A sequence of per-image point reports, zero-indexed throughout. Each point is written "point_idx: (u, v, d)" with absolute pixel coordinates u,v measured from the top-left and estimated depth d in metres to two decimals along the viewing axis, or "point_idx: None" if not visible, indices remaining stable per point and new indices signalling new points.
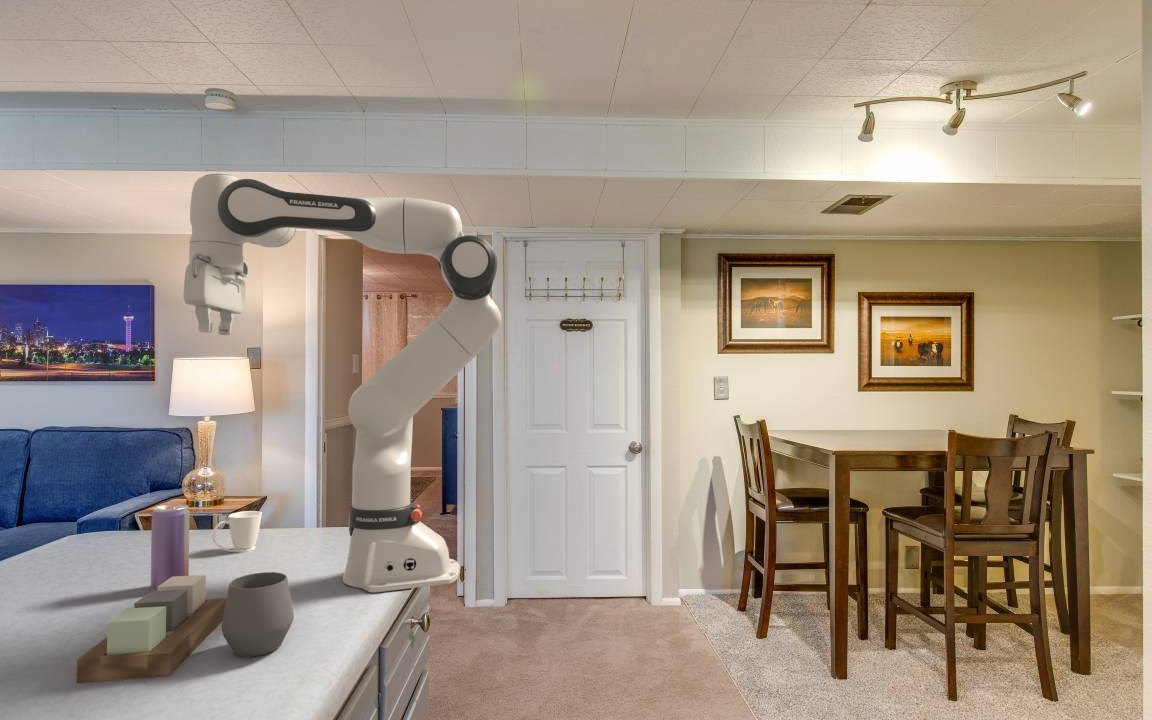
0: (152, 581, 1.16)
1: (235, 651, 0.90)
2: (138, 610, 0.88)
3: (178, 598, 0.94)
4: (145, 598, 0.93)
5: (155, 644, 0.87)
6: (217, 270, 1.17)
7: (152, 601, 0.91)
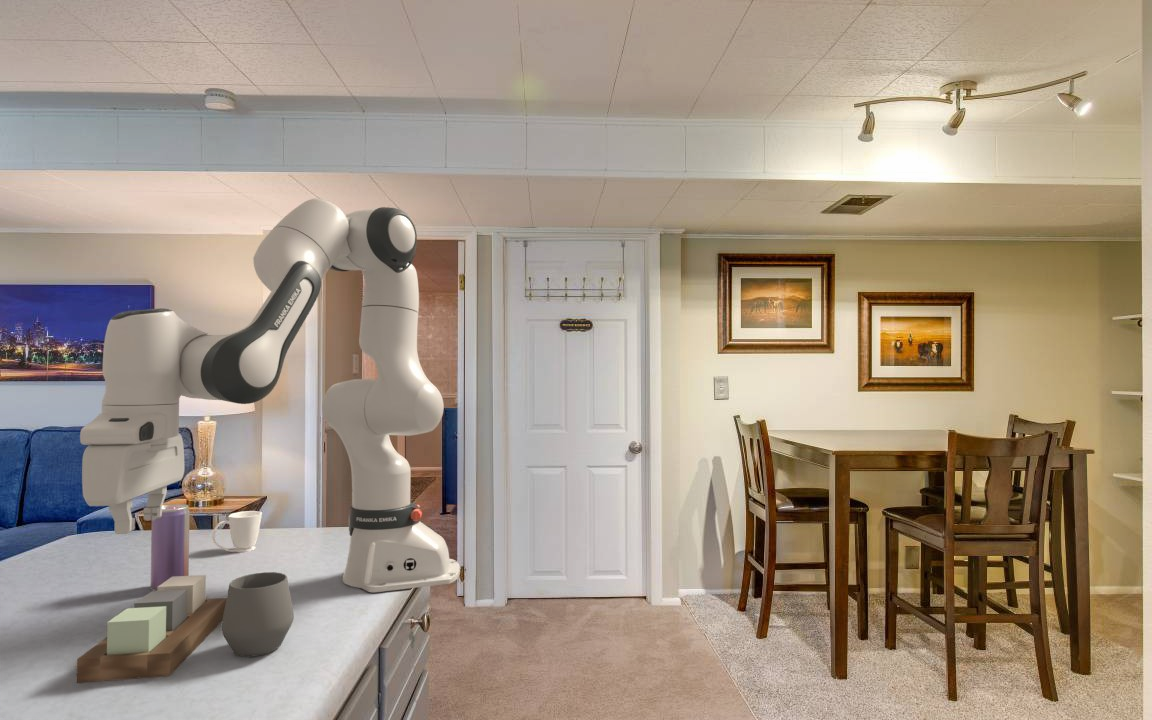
0: (152, 581, 1.16)
1: (235, 651, 0.90)
2: (138, 610, 0.88)
3: (178, 598, 0.94)
4: (145, 598, 0.93)
5: (155, 644, 0.87)
6: None
7: (152, 601, 0.91)
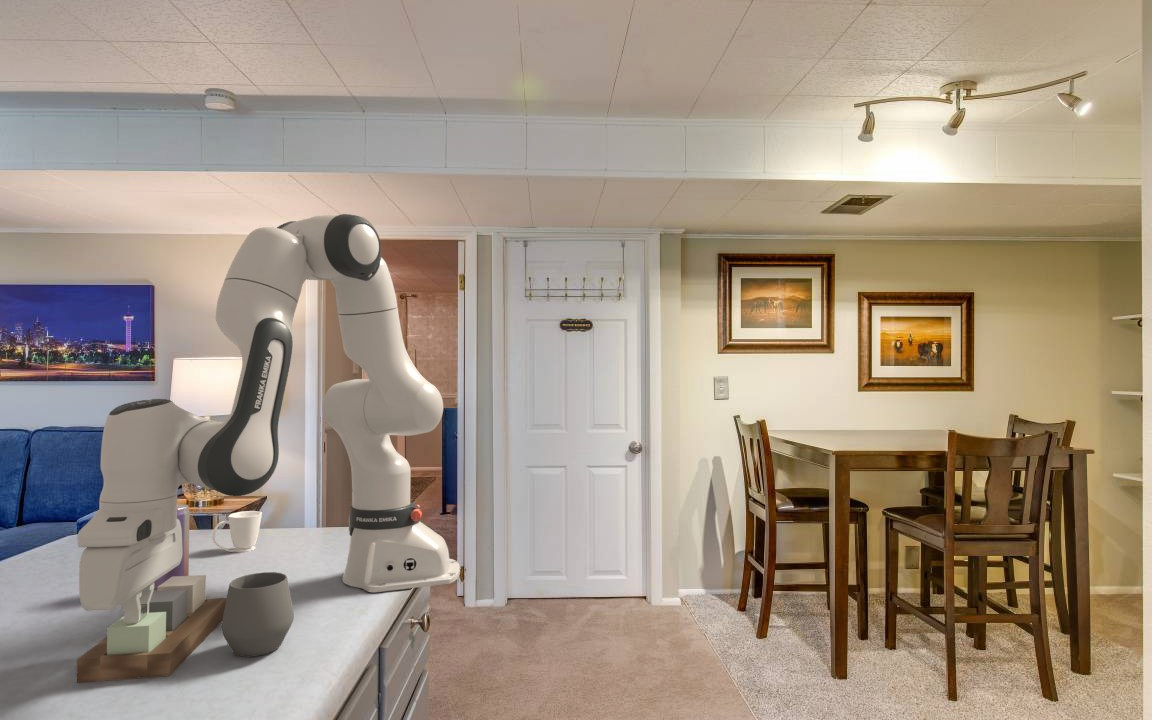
0: None
1: (235, 651, 0.90)
2: None
3: (178, 598, 0.94)
4: None
5: None
6: None
7: (152, 601, 0.91)
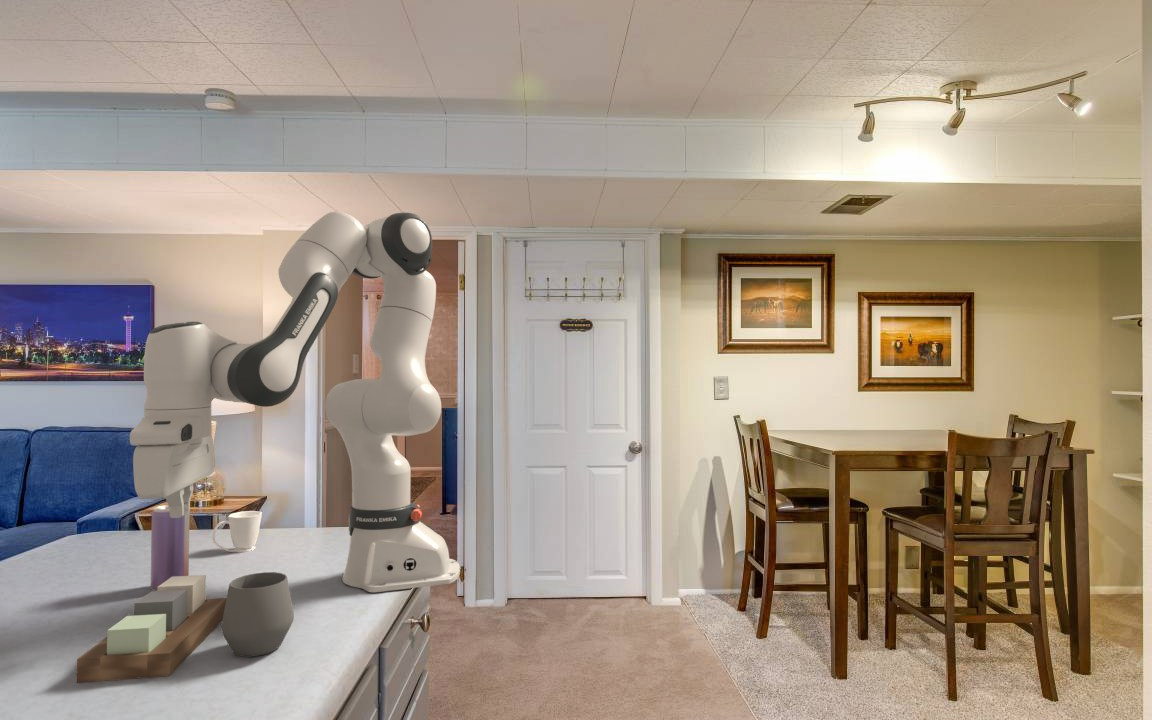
0: (152, 581, 1.16)
1: (235, 651, 0.90)
2: (138, 617, 0.88)
3: (178, 598, 0.94)
4: (145, 598, 0.93)
5: None
6: None
7: (152, 601, 0.91)
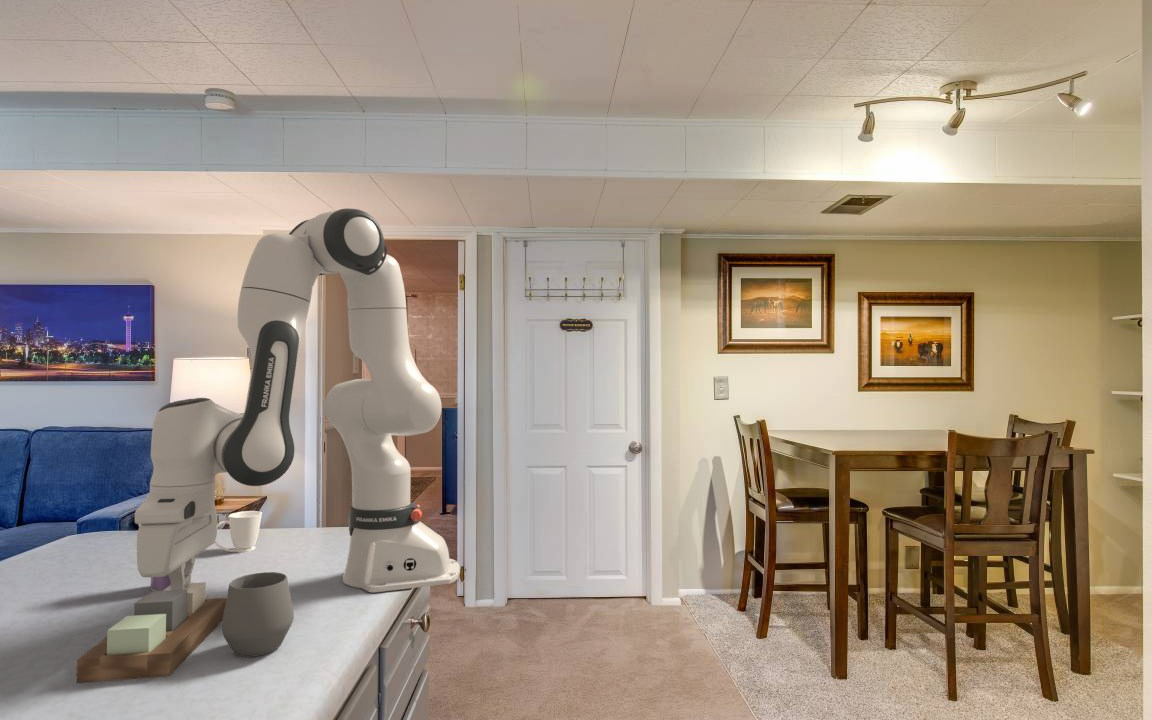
0: (152, 581, 1.16)
1: (235, 651, 0.90)
2: (138, 617, 0.88)
3: (178, 598, 0.94)
4: (145, 598, 0.93)
5: None
6: None
7: (152, 601, 0.91)
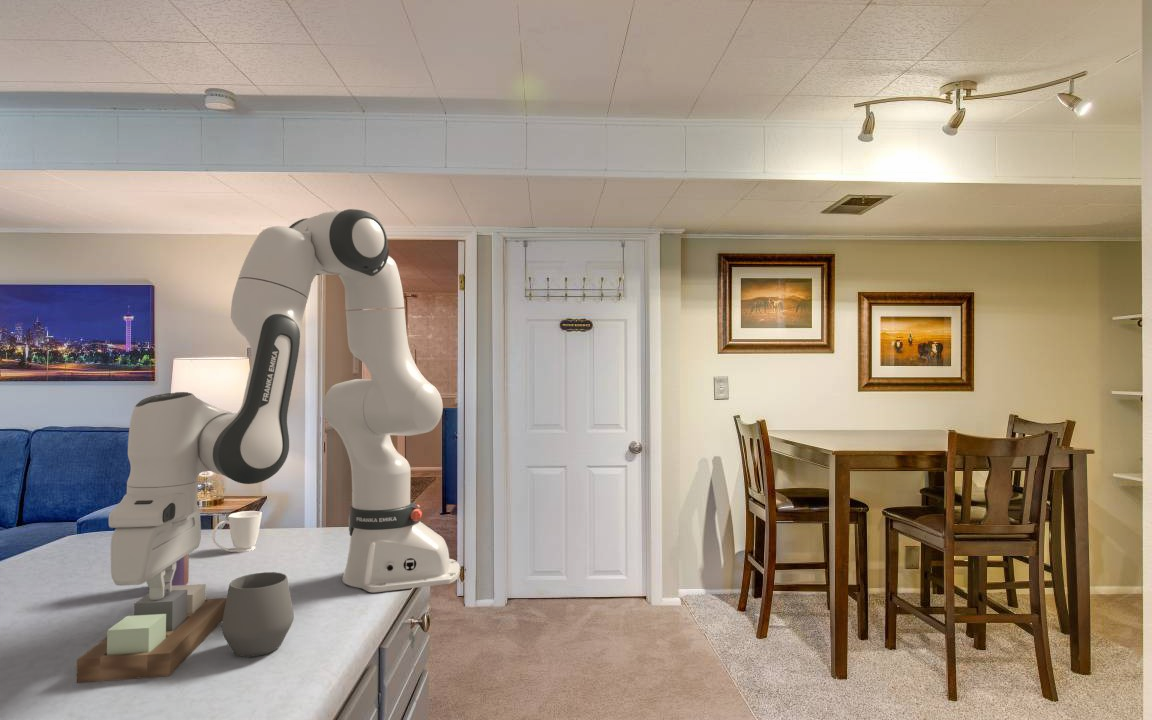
0: None
1: (235, 651, 0.90)
2: (138, 617, 0.88)
3: (178, 598, 0.94)
4: (145, 598, 0.93)
5: None
6: None
7: (152, 602, 0.91)
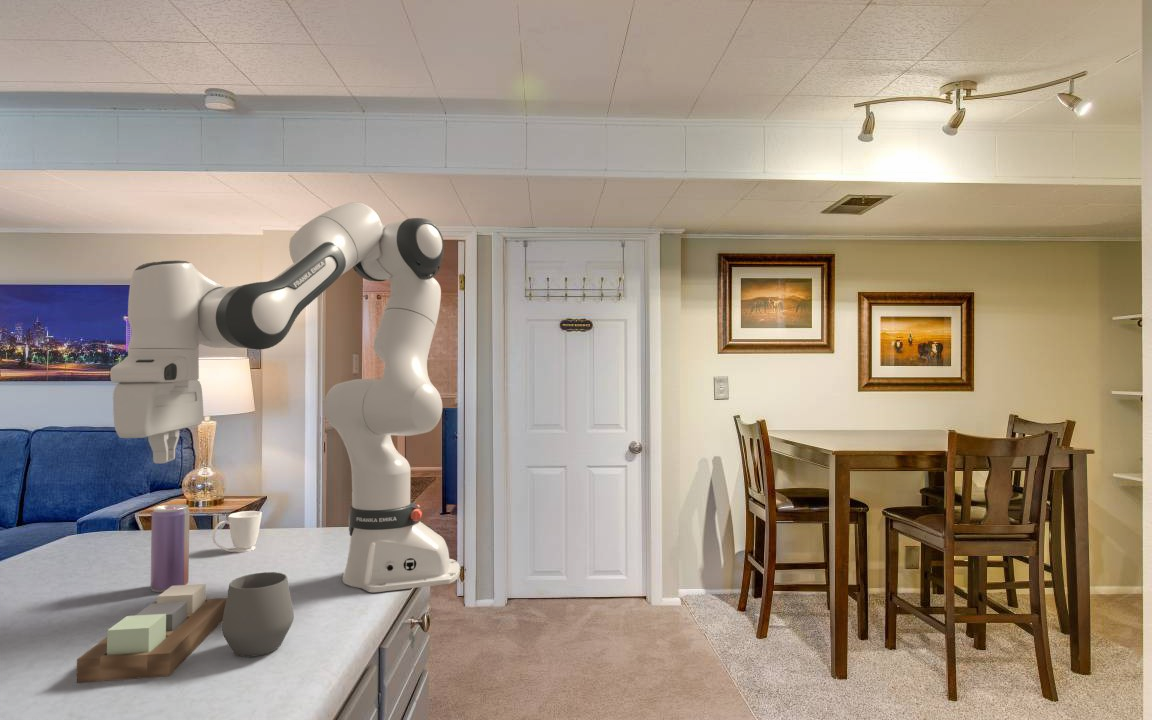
0: (152, 581, 1.16)
1: (235, 651, 0.90)
2: (138, 617, 0.88)
3: (178, 611, 0.94)
4: (145, 610, 0.93)
5: None
6: None
7: None
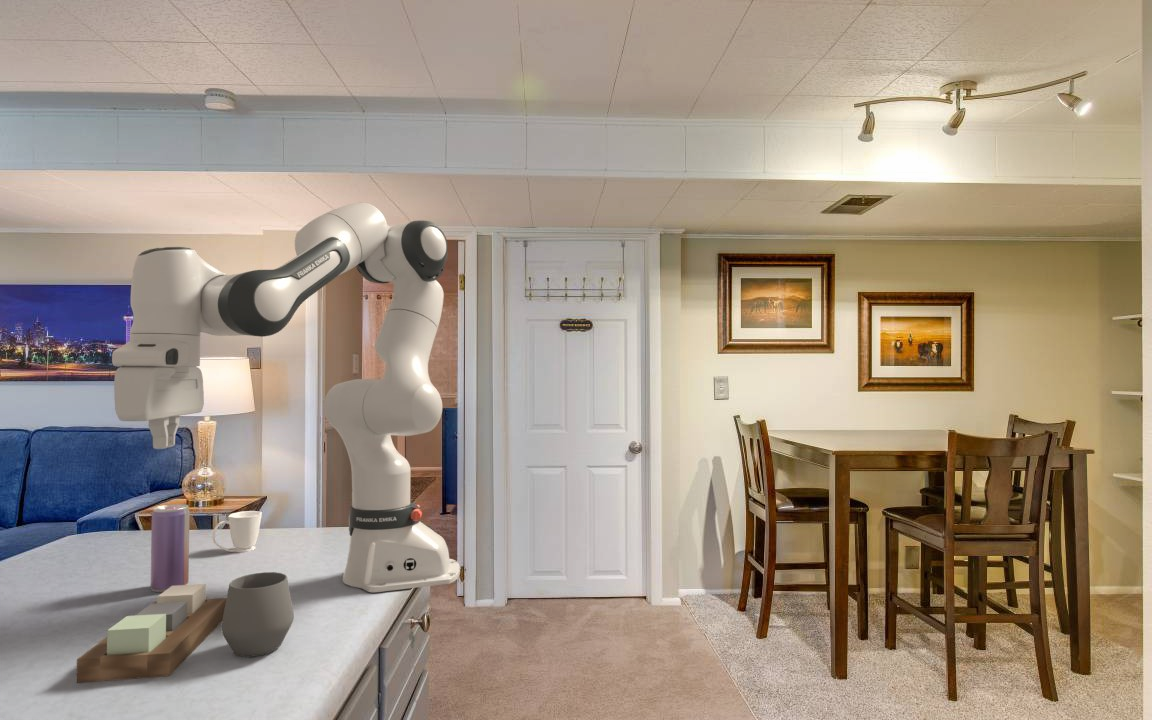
0: (152, 581, 1.16)
1: (235, 651, 0.90)
2: (138, 617, 0.88)
3: (178, 611, 0.94)
4: (145, 610, 0.93)
5: None
6: None
7: None
